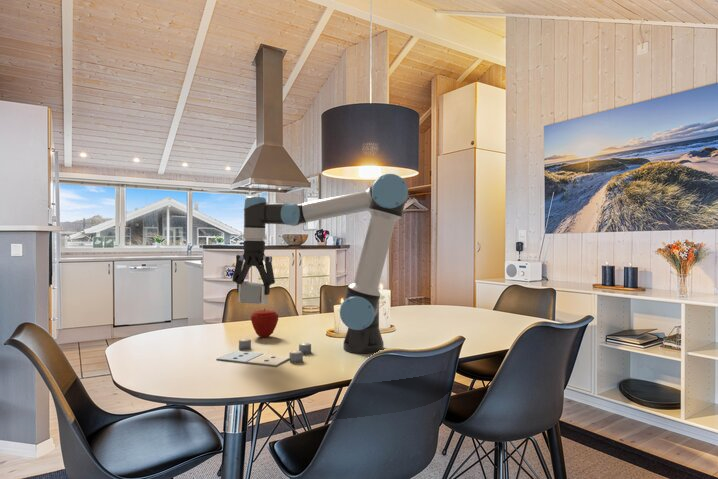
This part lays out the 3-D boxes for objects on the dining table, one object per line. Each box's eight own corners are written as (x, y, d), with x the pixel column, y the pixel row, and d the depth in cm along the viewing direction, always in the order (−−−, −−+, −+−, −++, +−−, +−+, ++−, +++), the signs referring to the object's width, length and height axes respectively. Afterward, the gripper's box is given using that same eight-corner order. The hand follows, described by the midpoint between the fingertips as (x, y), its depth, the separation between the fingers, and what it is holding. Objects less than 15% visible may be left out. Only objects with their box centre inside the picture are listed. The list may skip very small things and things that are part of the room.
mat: (292, 357, 154) (292, 356, 154) (276, 366, 143) (276, 365, 143) (236, 351, 162) (236, 350, 162) (216, 360, 151) (216, 358, 151)
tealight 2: (304, 360, 151) (304, 350, 151) (298, 364, 147) (299, 354, 147) (293, 359, 153) (293, 349, 153) (287, 362, 148) (287, 352, 148)
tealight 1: (253, 347, 168) (253, 339, 168) (246, 350, 164) (246, 341, 164) (243, 346, 170) (243, 338, 170) (236, 349, 165) (236, 340, 165)
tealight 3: (313, 352, 162) (313, 343, 162) (307, 355, 158) (307, 345, 158) (302, 351, 164) (302, 342, 164) (296, 353, 160) (296, 344, 160)
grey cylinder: (261, 305, 156) (262, 283, 156) (239, 304, 156) (239, 282, 156) (270, 301, 166) (270, 280, 166) (248, 300, 167) (249, 280, 167)
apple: (283, 336, 187) (283, 307, 187) (265, 341, 178) (265, 311, 178) (264, 333, 193) (264, 305, 193) (245, 337, 184) (245, 308, 184)
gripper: (286, 241, 158) (284, 303, 159) (235, 239, 166) (234, 299, 167) (274, 241, 151) (273, 306, 152) (222, 239, 159) (221, 301, 160)
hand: (252, 302), depth 159 cm, fingers closed on grey cylinder, 9 cm apart
